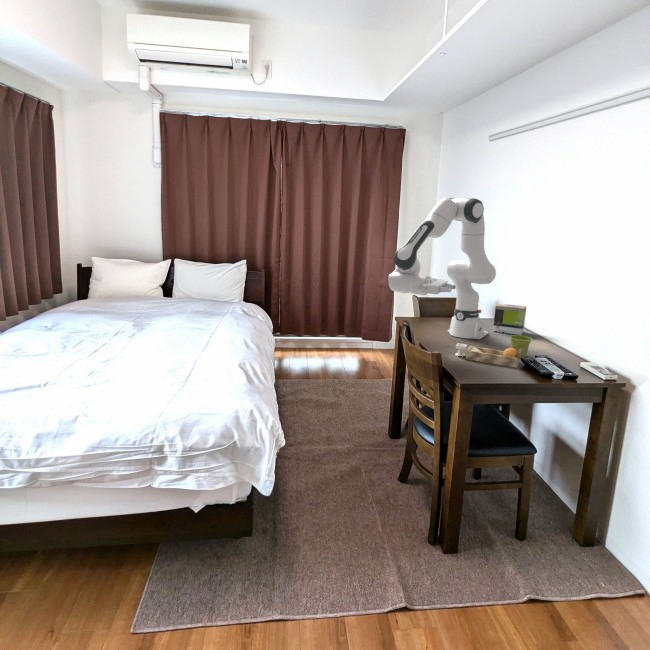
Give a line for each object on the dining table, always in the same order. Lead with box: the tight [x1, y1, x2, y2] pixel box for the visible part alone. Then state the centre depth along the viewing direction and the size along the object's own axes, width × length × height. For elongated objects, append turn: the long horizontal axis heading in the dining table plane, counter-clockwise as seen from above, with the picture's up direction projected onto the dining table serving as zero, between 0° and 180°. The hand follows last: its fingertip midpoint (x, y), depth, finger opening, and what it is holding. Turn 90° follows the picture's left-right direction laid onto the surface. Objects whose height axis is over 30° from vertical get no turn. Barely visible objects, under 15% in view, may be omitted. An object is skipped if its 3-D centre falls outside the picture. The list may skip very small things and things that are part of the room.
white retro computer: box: [492, 302, 527, 336], centre depth 262 cm, size 15×10×15 cm, turn 62°
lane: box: [465, 345, 522, 369], centre depth 210 cm, size 22×9×7 cm, turn 64°
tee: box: [455, 342, 468, 358], centre depth 216 cm, size 4×4×5 cm
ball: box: [503, 347, 518, 358], centre depth 208 cm, size 6×6×6 cm
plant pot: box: [509, 334, 533, 358], centre depth 219 cm, size 9×9×9 cm
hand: (453, 288), depth 212 cm, fingers open, 8 cm apart
